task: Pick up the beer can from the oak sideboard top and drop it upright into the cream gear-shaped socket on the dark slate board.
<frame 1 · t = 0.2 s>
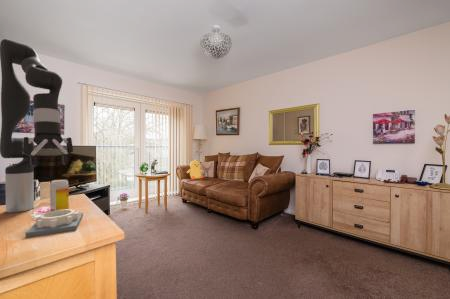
hand: (50, 165, 77), 23 cm above the table, tool pointing down, fingers open, 8 cm apart
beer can: (59, 216, 88), on the table
gear socket: (58, 225, 77), on the table
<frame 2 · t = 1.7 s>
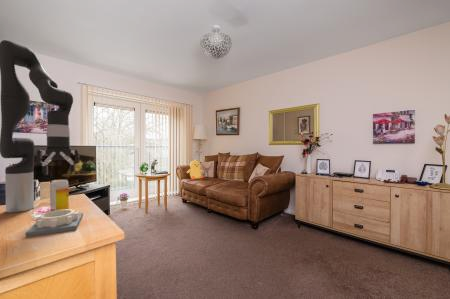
hand: (59, 174, 87), 18 cm above the table, tool pointing down, fingers open, 8 cm apart
nothing on the table moved.
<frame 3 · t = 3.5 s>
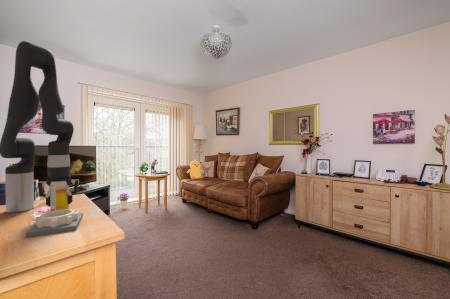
hand: (59, 204, 88), 5 cm above the table, tool pointing down, fingers closed on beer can, 6 cm apart
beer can: (59, 216, 88), on the table, touching gripper
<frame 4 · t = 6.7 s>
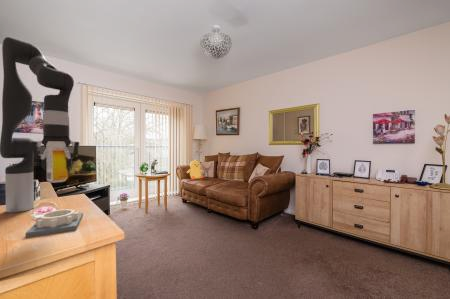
hand: (57, 169, 77), 21 cm above the table, tool pointing down, fingers closed on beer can, 6 cm apart
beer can: (57, 181, 77), point 16 cm above the table, touching gripper
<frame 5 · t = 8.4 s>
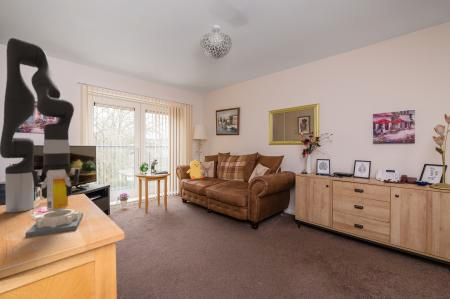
hand: (57, 196, 77), 11 cm above the table, tool pointing down, fingers closed on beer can, 6 cm apart
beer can: (57, 209, 77), point 6 cm above the table, touching gripper
when the fingers open (8 cm above the table, at t = 10.0 s): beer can drops 2 cm, resting on gear socket.
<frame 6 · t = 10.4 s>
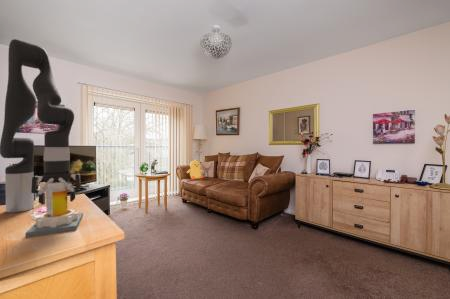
hand: (57, 202, 77), 9 cm above the table, tool pointing down, fingers open, 8 cm apart
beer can: (57, 221, 77), point 1 cm above the table, touching gear socket
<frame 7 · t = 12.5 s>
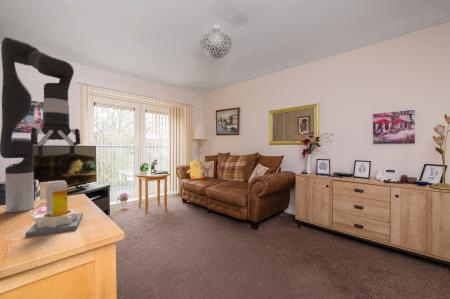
hand: (57, 156, 77), 26 cm above the table, tool pointing down, fingers open, 8 cm apart
nothing on the table moved.
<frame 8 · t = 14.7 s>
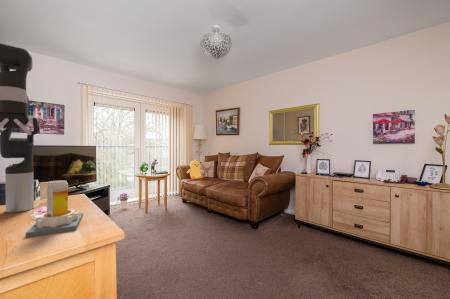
hand: (14, 145, 76), 30 cm above the table, tool pointing down, fingers open, 8 cm apart
nothing on the table moved.
at the end: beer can 0.1 cm off-centre on the gear socket, point 1.3 cm above the gear socket's base; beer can tilted 1°; the gripper is holding nothing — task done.
